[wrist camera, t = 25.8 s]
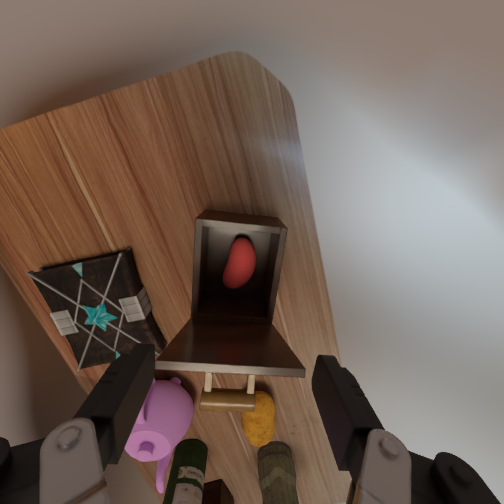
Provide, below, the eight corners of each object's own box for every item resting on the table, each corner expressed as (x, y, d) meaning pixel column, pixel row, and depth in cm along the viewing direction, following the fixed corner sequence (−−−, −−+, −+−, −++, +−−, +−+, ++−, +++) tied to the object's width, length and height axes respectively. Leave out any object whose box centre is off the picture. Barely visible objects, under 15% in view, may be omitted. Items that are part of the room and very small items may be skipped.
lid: (155, 359, 20) (147, 422, 19) (305, 368, 21) (301, 428, 20) (190, 317, 36) (186, 350, 36) (272, 323, 38) (269, 355, 37)
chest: (204, 209, 41) (195, 218, 32) (278, 217, 42) (287, 228, 33) (200, 291, 45) (190, 318, 37) (266, 297, 47) (271, 324, 38)
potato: (243, 425, 57) (243, 457, 50) (238, 381, 53) (238, 410, 46) (274, 422, 57) (279, 454, 51) (272, 378, 53) (277, 406, 46)
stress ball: (212, 284, 37) (241, 300, 40) (247, 239, 37) (273, 259, 40) (205, 271, 41) (231, 287, 44) (237, 230, 41) (261, 249, 44)
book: (168, 343, 49) (160, 361, 44) (89, 359, 49) (73, 378, 44) (131, 245, 42) (117, 254, 37) (41, 264, 42) (15, 275, 38)
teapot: (205, 424, 56) (196, 490, 44) (147, 432, 56) (122, 501, 44) (187, 357, 50) (170, 413, 38) (121, 367, 50) (84, 426, 38)
